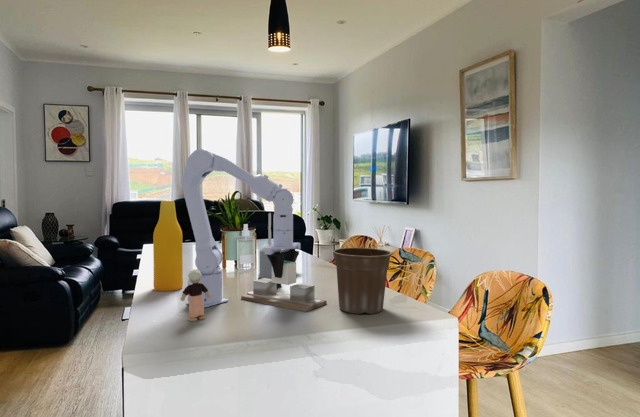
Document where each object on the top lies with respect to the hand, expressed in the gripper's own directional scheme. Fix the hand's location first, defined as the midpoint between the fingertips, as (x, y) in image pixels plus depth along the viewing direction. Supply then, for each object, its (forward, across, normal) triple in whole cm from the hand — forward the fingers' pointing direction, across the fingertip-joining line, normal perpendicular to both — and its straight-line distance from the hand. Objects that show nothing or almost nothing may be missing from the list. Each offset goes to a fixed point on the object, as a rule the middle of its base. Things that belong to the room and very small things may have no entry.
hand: (283, 276), depth 133 cm
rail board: (+8, 0, 0) cm, 8 cm away
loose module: (+2, 0, 0) cm, 2 cm away
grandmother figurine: (+8, -27, +7) cm, 29 cm away
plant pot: (+8, +6, -23) cm, 25 cm away
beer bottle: (+8, -8, +42) cm, 43 cm away
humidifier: (+8, +14, +17) cm, 23 cm away
